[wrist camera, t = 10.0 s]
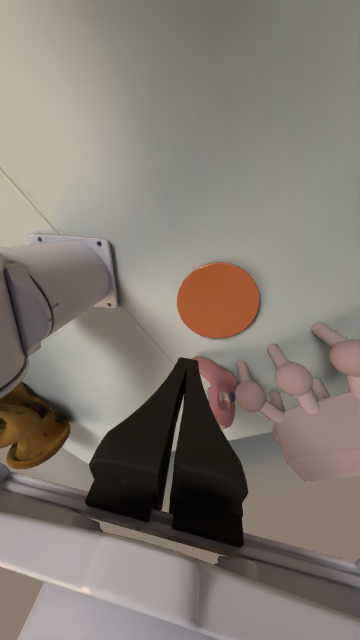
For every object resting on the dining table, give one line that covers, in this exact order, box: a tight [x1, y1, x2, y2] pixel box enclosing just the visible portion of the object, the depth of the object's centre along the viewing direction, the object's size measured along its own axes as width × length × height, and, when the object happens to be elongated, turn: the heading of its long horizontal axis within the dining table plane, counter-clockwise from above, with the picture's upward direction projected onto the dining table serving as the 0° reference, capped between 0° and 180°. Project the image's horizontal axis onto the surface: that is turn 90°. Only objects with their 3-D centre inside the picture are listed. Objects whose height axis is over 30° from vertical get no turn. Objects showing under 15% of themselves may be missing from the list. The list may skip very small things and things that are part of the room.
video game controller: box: [193, 357, 237, 430], centre depth 23 cm, size 10×5×7 cm, turn 1°
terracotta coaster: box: [177, 262, 260, 338], centre depth 19 cm, size 9×9×1 cm
